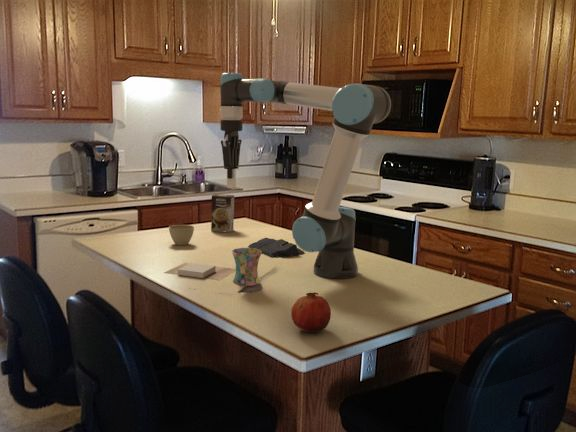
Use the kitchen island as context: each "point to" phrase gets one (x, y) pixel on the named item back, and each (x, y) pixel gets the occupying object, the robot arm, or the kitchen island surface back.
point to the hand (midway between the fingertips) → (231, 187)
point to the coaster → (251, 288)
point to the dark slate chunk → (276, 248)
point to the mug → (246, 266)
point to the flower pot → (181, 234)
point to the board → (216, 275)
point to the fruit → (311, 313)
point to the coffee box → (222, 212)
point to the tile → (196, 270)
